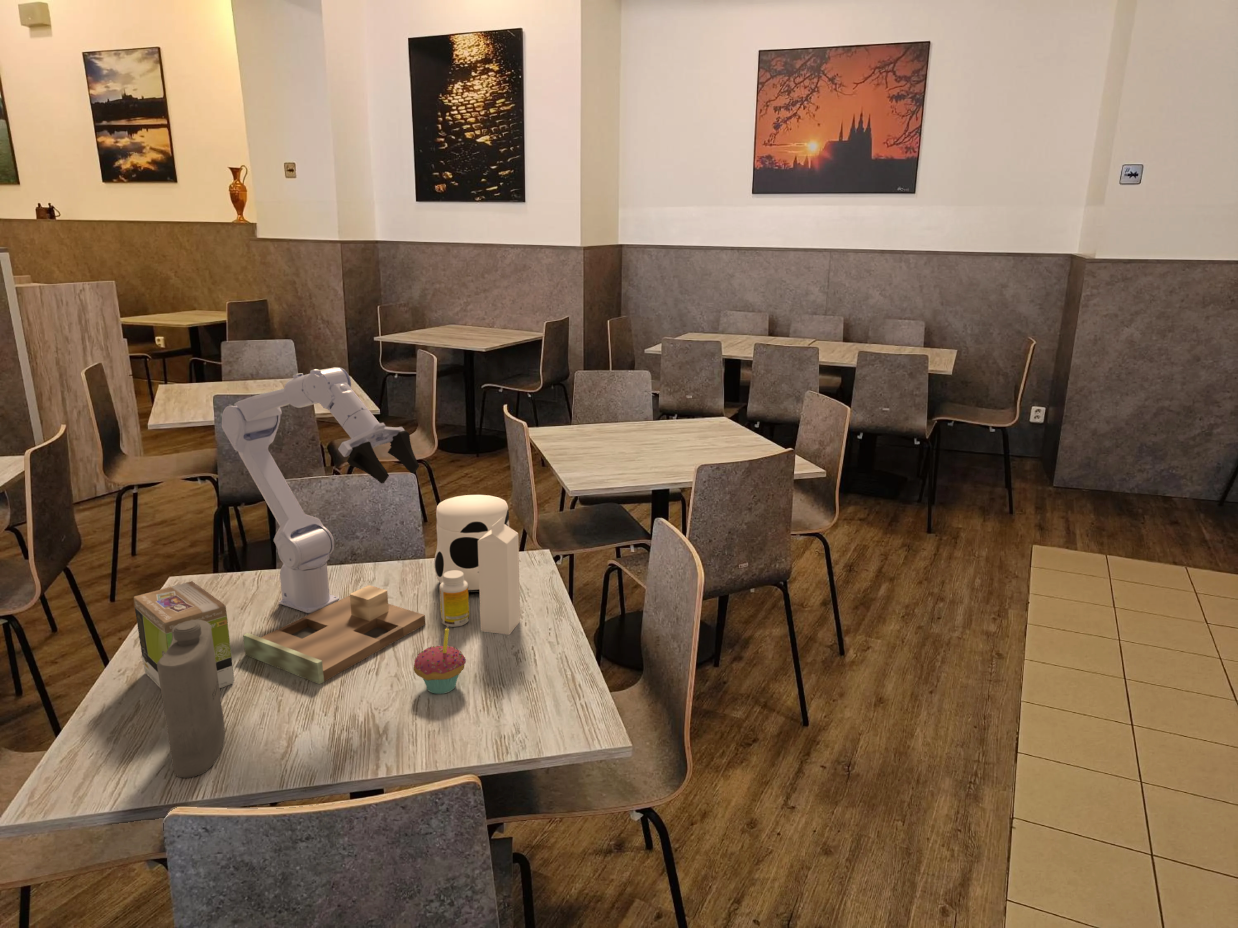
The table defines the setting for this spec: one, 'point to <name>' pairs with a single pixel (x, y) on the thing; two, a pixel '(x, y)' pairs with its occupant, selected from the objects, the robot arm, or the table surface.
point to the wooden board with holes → (330, 640)
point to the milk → (499, 579)
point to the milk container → (465, 533)
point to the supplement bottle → (454, 599)
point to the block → (369, 602)
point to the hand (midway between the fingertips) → (400, 474)
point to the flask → (192, 699)
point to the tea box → (171, 609)
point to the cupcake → (440, 666)
